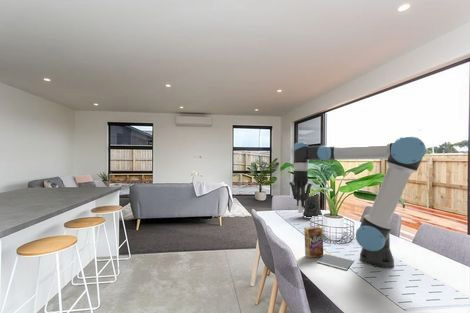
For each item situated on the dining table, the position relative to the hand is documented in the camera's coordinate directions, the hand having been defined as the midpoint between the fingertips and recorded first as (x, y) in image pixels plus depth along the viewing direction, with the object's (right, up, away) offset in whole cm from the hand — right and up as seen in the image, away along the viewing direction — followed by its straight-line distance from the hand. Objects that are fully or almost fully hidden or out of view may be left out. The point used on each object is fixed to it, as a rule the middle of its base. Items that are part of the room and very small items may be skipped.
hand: (300, 212), depth 135 cm
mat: (+14, -23, -12) cm, 29 cm away
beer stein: (+32, -24, +83) cm, 92 cm away
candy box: (+6, -23, -5) cm, 24 cm away
